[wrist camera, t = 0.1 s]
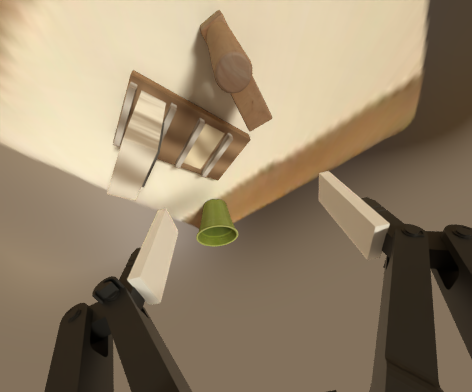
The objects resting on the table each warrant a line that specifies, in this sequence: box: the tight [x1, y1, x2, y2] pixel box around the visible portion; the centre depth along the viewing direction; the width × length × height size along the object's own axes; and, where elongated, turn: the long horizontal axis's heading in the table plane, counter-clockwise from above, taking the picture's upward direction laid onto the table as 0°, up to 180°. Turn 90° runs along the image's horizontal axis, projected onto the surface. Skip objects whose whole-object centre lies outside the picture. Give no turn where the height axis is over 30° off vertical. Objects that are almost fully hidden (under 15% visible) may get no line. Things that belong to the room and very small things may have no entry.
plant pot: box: [196, 199, 238, 246], centre depth 58 cm, size 12×12×11 cm
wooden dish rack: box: [107, 70, 250, 201], centre depth 36 cm, size 14×24×16 cm, turn 55°
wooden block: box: [200, 10, 272, 131], centre depth 26 cm, size 4×11×18 cm, turn 30°
